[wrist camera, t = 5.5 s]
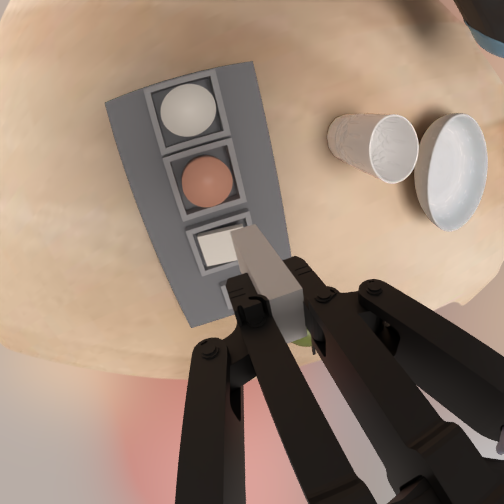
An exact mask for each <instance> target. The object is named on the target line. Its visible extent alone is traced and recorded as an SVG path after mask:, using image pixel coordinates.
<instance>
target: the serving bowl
mask: <svg viewBox="0 0 504 504" xmlns="http://www.w3.org/2000/svg"><path fill="white" fill-rule="evenodd" d="M487 168H488V157H487V148H486V142H485V138H484V135H483V133H482V130H481V128H480V126H479V125H478V123H477V122H476V121H475V120H474V119H473V118H472V117H471V116H469V115H467V114H463V113H453V114H448V115H445V116H442V117H440V118H438V119H437V120H436V121H434V122H433V123H432V124H431V125H430V126H429V128H428V129H427V130H426V132H425V133H424V135H423V137H422V139H421V141H420V144H419V152H418V158H417V162H416V165H415V168H414V180H415V188H416V193H417V197H418V200H419V203H420V205H421V207H422V209H423V211H424V213H425V214H426V216H427V217H428V218H429V219H430V220H431V221H432V222H433V223H434V224H435V225H436V226H437V227H439V228H440V229H442V230H444V231H455V230H457V229H459V228H461V227H462V226H463V225H464V224H465V223H466V222H467V221H468V220H469V219H470V218H471V217H472V215H473V214H474V212H475V210H476V209H477V207H478V205H479V202H480V200H481V197H482V194H483V191H484V188H485V183H486V178H487Z"/></svg>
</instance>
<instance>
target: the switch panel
mask: <svg viewBox="0 0 504 504" xmlns="http://www.w3.org/2000/svg"><path fill="white" fill-rule="evenodd" d="M184 84H196V85H199V86H202V87H204V88H205V89H207V90H208V91H209V92H210V93H211V94H212V96H213V98H214V100H215V103H216V114H215V118H214V120H213V122H212V124H211V125H210V126H209V127H208V128H207V129H206V130H205V131H203V132H202V133H200V134H198V135H195V136H190V137H184V136H179V135H176V134H174V133H172V132H171V131H169V130H168V129H167V128H166V127H165V125H164V123H163V122H162V119H161V112H160V111H161V105H162V102H163V100H164V98H165V97H166V95H167V94H168V93H169V92H170V91H171V90H173V89H174V88H176V87H178V86H180V85H184ZM105 106H106V110H107V113H108V117H109V121H110V124H111V128H112V131H113V135H114V138H115V141H116V144H117V148H118V151H119V154H120V157H121V160H122V163H123V166H124V169H125V172H126V175H127V178H128V181H129V184H130V187H131V190H132V192H133V195H134V198H135V201H136V203H137V206H138V209H139V211H140V214H141V217H142V219H143V222H144V224H145V227H146V229H147V232H148V234H149V237H150V239H151V242H152V244H153V247H154V249H155V251H156V254H157V256H158V258H159V261H160V263H161V265H162V268H163V270H164V272H165V274H166V277H167V279H168V281H169V283H170V285H171V288H172V290H173V292H174V294H175V296H176V298H177V300H178V302H179V305H180V307H181V309H182V311H183V313H184V315H185V317H186V319H187V321H188V323H189V325H190V327H191V328H193V327H196V326H200V325H203V324H206V323H209V322H212V321H216V320H219V319H222V318H225V317H228V316H231V315H234V311H233V308H232V305H231V302H230V299H229V295H228V292H227V289H226V282H227V279H228V278H231V277H234V276H237V275H241V274H242V273H241V271H240V268H239V264H238V260H236V261H231V262H226V263H222V264H217V265H212V266H207V264H206V261H205V259H204V256H203V253H202V250H201V247H200V244H199V241H198V238H197V236H198V233H203V232H207V231H211V230H216V229H220V228H225V227H229V226H233V225H238V224H243V227H247V226H250V225H253V224H256V226H257V227H258V228H259V230H260V231H261V232H262V234H263V235H264V236H265V238H266V239H267V241H268V242H269V243H270V245H271V246H272V247H273V249H274V250H275V251H276V253H277V254H278V255H279V257H280V258H281V260H285V259H288V258H291V251H290V245H289V239H288V233H287V227H286V221H285V215H284V209H283V204H282V198H281V193H280V187H279V182H278V177H277V172H276V166H275V161H274V156H273V151H272V146H271V141H270V136H269V132H268V127H267V122H266V117H265V113H264V108H263V104H262V99H261V95H260V90H259V86H258V82H257V77H256V73H255V69H254V65H253V61H250V62H244V63H238V64H232V65H227V66H222V67H217V68H212V69H208V70H203V71H199V72H195V73H191V74H187V75H183V76H180V77H176V78H173V79H169V80H166V81H163V82H159V83H156V84H153V85H150V86H147V87H144V88H141V89H138V90H136V91H133V92H130V93H128V94H125V95H122V96H120V97H117V98H115V99H112V100H110V101H108V102H105ZM201 155H211V156H214V157H216V158H218V159H220V160H221V161H222V162H223V163H224V164H225V165H226V166H227V167H228V168H229V170H230V172H231V175H232V179H233V184H232V189H231V192H230V194H229V195H228V197H227V198H226V199H225V200H224V201H223V202H222V203H220V204H218V205H216V206H213V207H200V206H197V205H195V204H193V203H191V202H190V201H189V200H188V199H187V197H186V196H185V194H184V192H183V188H182V172H183V170H184V167H185V166H186V164H187V163H188V162H189V161H190V160H192V159H193V158H195V157H197V156H201Z"/></svg>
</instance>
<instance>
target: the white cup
mask: <svg viewBox="0 0 504 504" xmlns="http://www.w3.org/2000/svg"><path fill="white" fill-rule="evenodd" d="M327 140H328V147H329V149H330V150H331V152H332V153H333V155H334V156H335V157H337V158H338V159H340V160H341V161H343V162H346V163H348V164H349V165H351V166H353V167H355V168H357V169H359V170H361V171H363V172H365V173H368V174H370V175H372V176H374V177H376V178H378V179H380V180H382V181H384V182H386V183H391V184H394V183H399V182H401V181H403V180H404V179H406V178H407V177H408V176H409V175H410V174H411V172H412V171H413V169H414V167H415V165H416V162H417V158H418V152H419V144H418V138H417V134H416V131H415V129H414V127H413V126H412V124H411V123H410V122H409V121H408V120H407V119H406V118H405V117H403V116H400V115H396V114H373V113H366V114H344V115H342V116H339V117H337V118H335V120H334V121H333V122H332V123H331V125H330V126H329V130H328V134H327Z"/></svg>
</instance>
